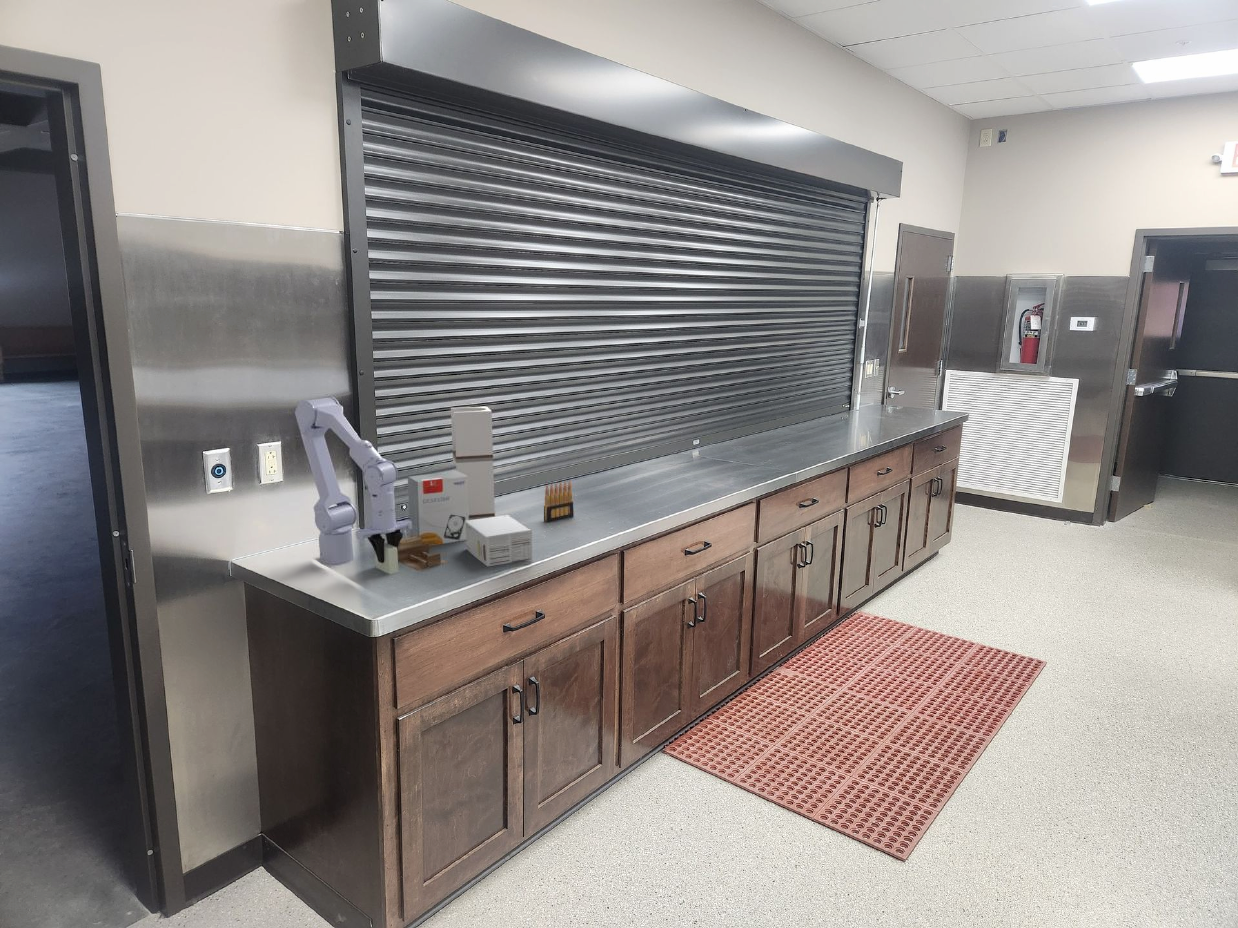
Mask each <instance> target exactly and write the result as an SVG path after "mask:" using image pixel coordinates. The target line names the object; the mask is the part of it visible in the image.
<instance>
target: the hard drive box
mask: <svg viewBox="0 0 1238 928" xmlns="http://www.w3.org/2000/svg"><path fill="white" fill-rule="evenodd" d="M407 488H408V489H407V490H408V492H407V493H408V512H409V513H408V514H409V517H408V518H409V521H411V522H412V529H409V535H410V536H409V538H410V537H414V536H415V537H418V538H421V539H422V544H426V543H429V547H431V546H432V547H433V546H437V545H438V546H439V545H444V544H450V543H456V542H461V541H462V542H463V541H466V524H465V521H468V520H469V512H468V476H467V475H465V474H463V473H461V472H459V471H458V472H457V471H447V472H438V473H431V474H430V473H429V474H421V475H413V476H407Z"/></svg>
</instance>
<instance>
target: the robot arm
mask: <svg viewBox="0 0 1238 928" xmlns="http://www.w3.org/2000/svg"><path fill="white" fill-rule="evenodd" d="M294 415H295V418H296V422H297V425H298V429H299V431H300V436H301V439H302V443H303V447H304V451H305V453H306V456H307V459H308V463H309V466H310V469H311V472H312V476H313V479H314V483H315V486H316V490H317V493H318V496H319V499H318V500H317V502H316V503H315V504H314V506H313V512H314V524H315V526H316V527H317V529H318V530H319V532H320V533H319V534H318V535H319V536H318V547H319V557H320V559H322V560H324V562H325V563H326V564H328V565H329V564H330V565H343V564H347V563H350V562H352V561H353V560H354V547H353V533H352V532H353V531H352V529H353V528H354V524H355V523H356V522H357V520H358V511H357V509H356V507H355V506H354V505H353V503H352V500H351V498H350V496H348V495H347V494H344V493H343V492H342V490H341V488H340V485H339V481H338V478H337V475H336V472H335V468H334V466H333V465H334V464H333V462H332V458H331V455H330V452H329V448H328V445H327V441H326V438H325V434H326V432H327V431H328V430H329V429H330V430H332V431H333V433H335V434H336V435H337V437H339V438H340V440H341V441H342V442H344V443H345V445H346V446H347V447H348V448H349V456H350V458H351V459H352V461H354V462H355V463H356V464H357V466H358V467H359V468H360V469H361V470H362V471H363V473H364V475H363V479H364V482H365V483H366V485H367V488H368V492H369V494H370V505H371V521H372V525H371V526H368V527H365V528H363V529H358V530H356V531H355V538H356V540H359V541H361V540H364V539H367V540H368V541H369V542H370V544H371V546H372V548H373V550H374V554H375V553H376V555H377V559H378V562H380V563H384V543H385V542H386V543H388V544H390V545H392V546H394V547H396V548H398V545H399V543H400V540H402V539H403V536H404V533H403V532H401V531H404V530H410V529H412V522H411V521H410V519H409V520H402V521H397V519H396V517H397V516H396V503H395V487H394V486H395V485H394V483H395V482H397V480H398V477H399V471H398V468H397V466H396V464H395V463H394V462H393V461H391V460H387V459H386V458H383V457H382V456H381V454H380V453H379V452H378V451H377V450H376V448H375V447H374V446H373V444H372V443H371V442H370V441H369V440H365V439H364V440H363V439H361V438H360V436H359V435H358V433H357V432H356V431H355V430H354V428H353V427H352V425H351V424H350V422H349V421H348V420H347V418H346V417H345V415H344V407H343V405H341V404H340V403H339V400H338V399H337V398H335V397H333V396H326V397H323V398H317V399H310V400H307V399H305V400H301V401H300V402H298V404H297V406H296V408H295V411H294ZM382 535H385V538H386V539H385V538H384V537H383V536H382ZM321 564H322V565H324V566H326V564H324V563H323V562H321ZM329 568H330V569H331V567H330V566H328V569H329Z"/></svg>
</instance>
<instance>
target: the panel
mask: <svg viewBox="0 0 1238 928" xmlns="http://www.w3.org/2000/svg"><path fill="white" fill-rule="evenodd" d="M374 558H375V559H374V561H375V568H376V569H378V570H380V571H382V572H384V573H386V574H388V575H394V574H398V573H399V561H398V555H397V548H396V547H394V546H392V545H390V544H388V543H387V541H385V543H384V563H380V562H378V559H377V555H376V553H375V552H374Z"/></svg>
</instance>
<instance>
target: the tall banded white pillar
mask: <svg viewBox="0 0 1238 928" xmlns="http://www.w3.org/2000/svg"><path fill="white" fill-rule="evenodd" d="M492 413H493V412H492V410H491V409H490V408H489V407H488V406H471V407H469V406H468V407H467V406H466V407H463V406H462V407H450V419H451V421H450V423H451V445H452V447H451V449H452V461H453V463H454V465H455V467H456V472H458V471H459V472H461V473H463V474H465V475H467V476H468V512H469V520H474V519H482V518H489V517H496V511H495V510H496V509H495V508H496V507H495V482H494V481H495V480H494V479H495V475H494V472H495V471H494V447H493V446H494V443H493V439H494V438H493V416H492V415H493V414H492Z"/></svg>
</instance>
